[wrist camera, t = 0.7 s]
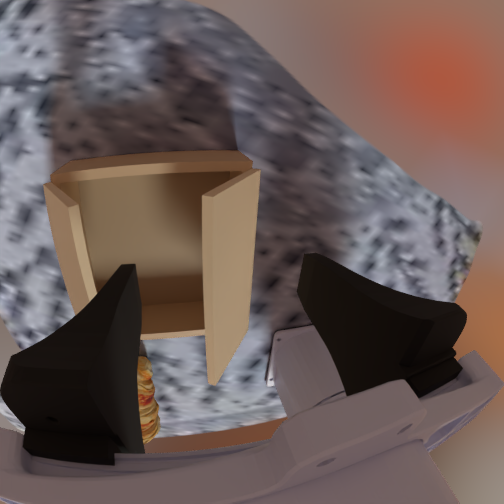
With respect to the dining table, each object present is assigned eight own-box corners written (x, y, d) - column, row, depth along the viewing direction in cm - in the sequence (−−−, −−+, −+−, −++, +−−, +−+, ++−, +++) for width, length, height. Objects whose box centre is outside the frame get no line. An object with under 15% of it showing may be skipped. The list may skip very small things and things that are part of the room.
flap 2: (242, 328, 22) (248, 329, 22) (208, 383, 17) (215, 385, 17) (252, 168, 17) (260, 169, 16) (201, 195, 12) (212, 197, 11)
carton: (231, 300, 26) (241, 330, 23) (99, 309, 23) (92, 341, 20) (238, 150, 20) (252, 161, 16) (70, 160, 17) (50, 174, 13)
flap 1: (129, 389, 16) (123, 392, 16) (90, 339, 19) (85, 342, 19) (78, 204, 10) (68, 207, 10) (50, 181, 14) (43, 184, 13)
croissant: (119, 315, 28) (74, 353, 20) (200, 369, 28) (172, 422, 20) (88, 411, 34) (61, 443, 26) (144, 448, 34) (123, 485, 26)
